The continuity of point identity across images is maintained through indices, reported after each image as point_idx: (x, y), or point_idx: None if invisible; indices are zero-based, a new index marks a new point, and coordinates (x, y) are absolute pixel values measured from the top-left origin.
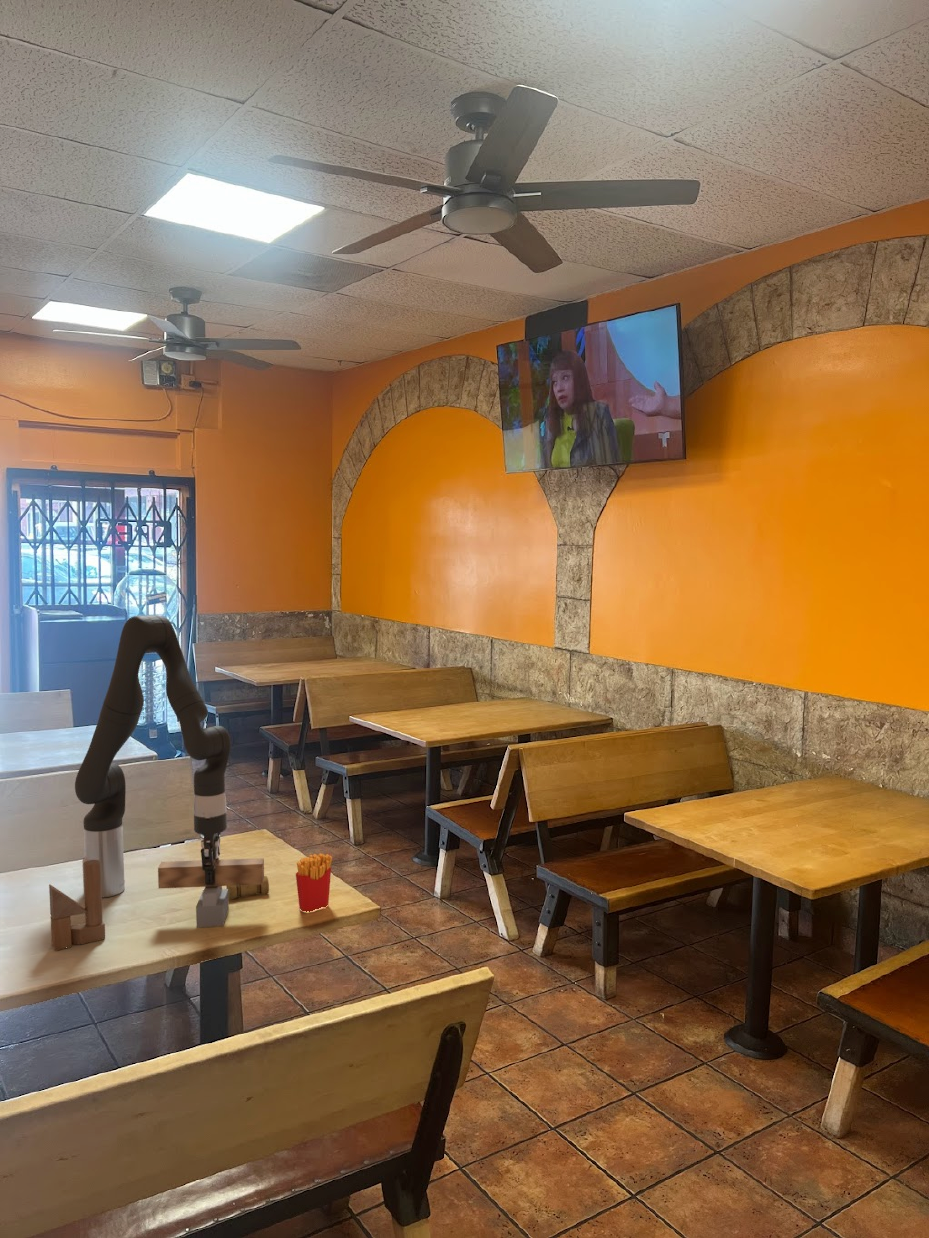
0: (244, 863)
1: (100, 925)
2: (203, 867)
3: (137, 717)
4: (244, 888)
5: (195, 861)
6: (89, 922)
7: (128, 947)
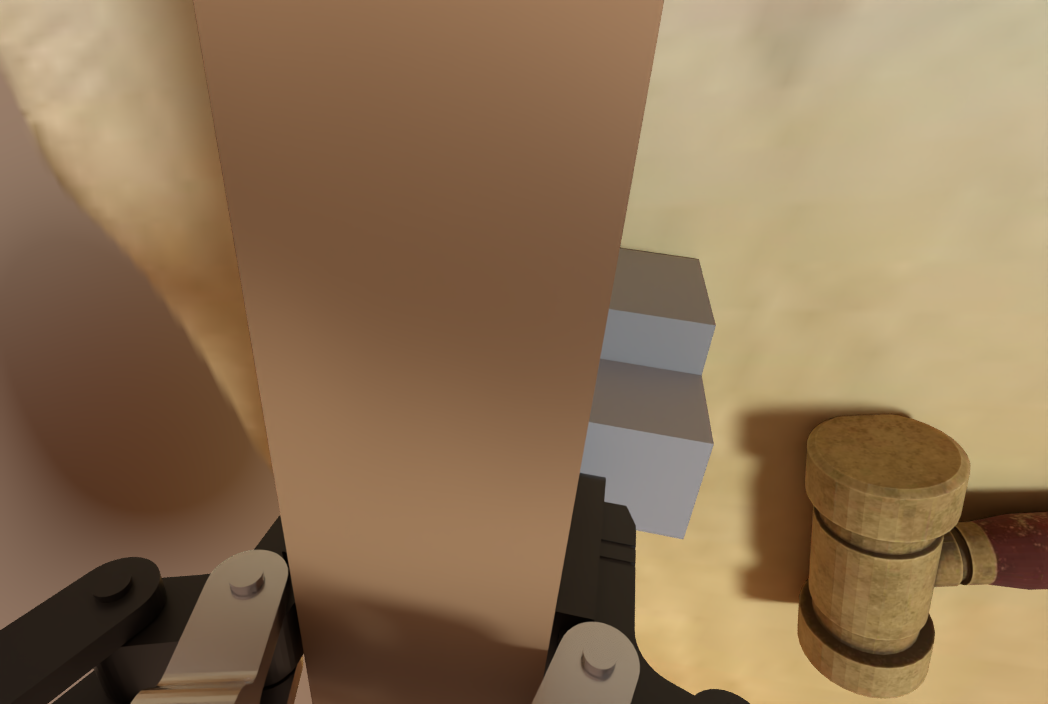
0: None
1: None
2: (59, 606)
3: None
4: (821, 548)
5: (528, 505)
6: None
7: None
